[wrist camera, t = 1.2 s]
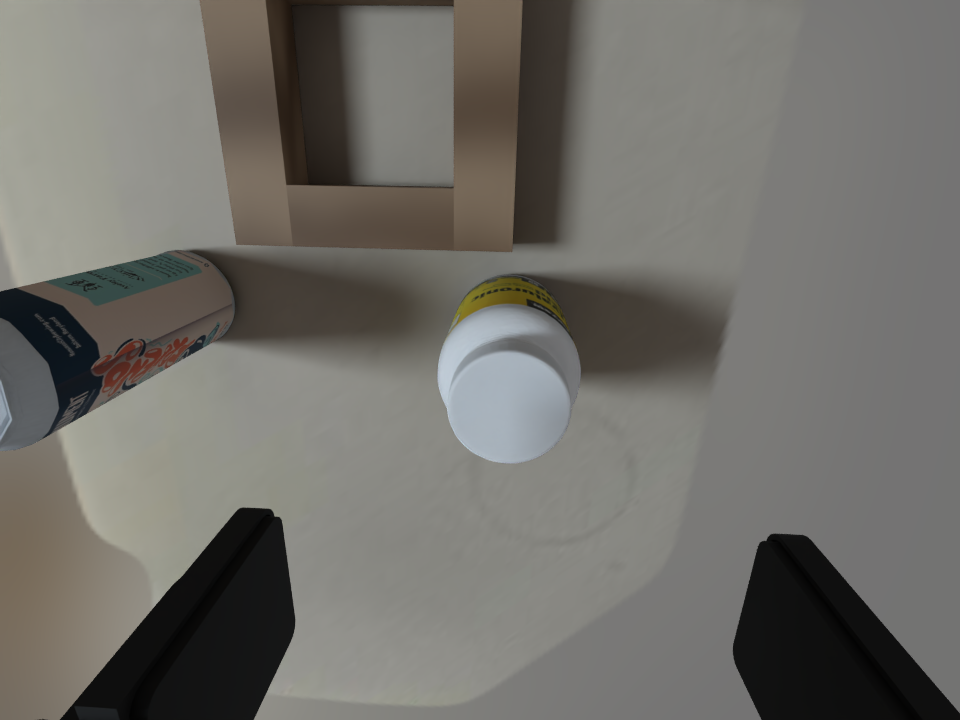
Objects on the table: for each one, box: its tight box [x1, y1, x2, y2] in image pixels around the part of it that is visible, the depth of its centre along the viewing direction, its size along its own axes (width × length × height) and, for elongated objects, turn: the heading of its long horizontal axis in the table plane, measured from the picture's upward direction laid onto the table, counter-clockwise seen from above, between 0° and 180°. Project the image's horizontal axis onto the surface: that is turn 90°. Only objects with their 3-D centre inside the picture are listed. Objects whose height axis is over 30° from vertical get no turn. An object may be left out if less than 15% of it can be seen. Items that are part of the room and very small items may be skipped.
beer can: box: [0, 250, 235, 451], centre depth 20 cm, size 5×5×12 cm
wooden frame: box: [200, 0, 523, 252], centre depth 20 cm, size 12×12×2 cm
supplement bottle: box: [438, 275, 581, 463], centre depth 20 cm, size 5×5×10 cm
